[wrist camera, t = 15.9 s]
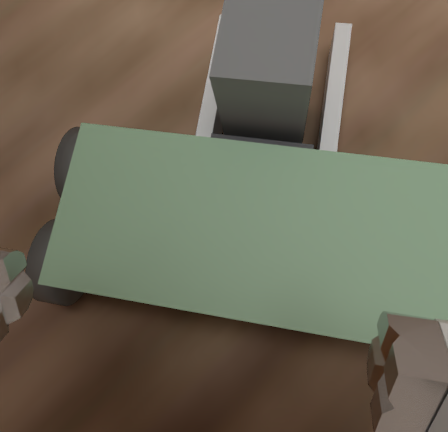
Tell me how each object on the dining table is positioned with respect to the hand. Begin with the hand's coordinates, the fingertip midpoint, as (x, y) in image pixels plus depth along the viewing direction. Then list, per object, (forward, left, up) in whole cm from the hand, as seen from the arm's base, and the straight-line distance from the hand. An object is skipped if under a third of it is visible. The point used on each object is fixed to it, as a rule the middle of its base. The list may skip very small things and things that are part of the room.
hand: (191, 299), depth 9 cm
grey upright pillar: (-10, +6, -17) cm, 20 cm away
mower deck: (-7, +4, -17) cm, 19 cm away
